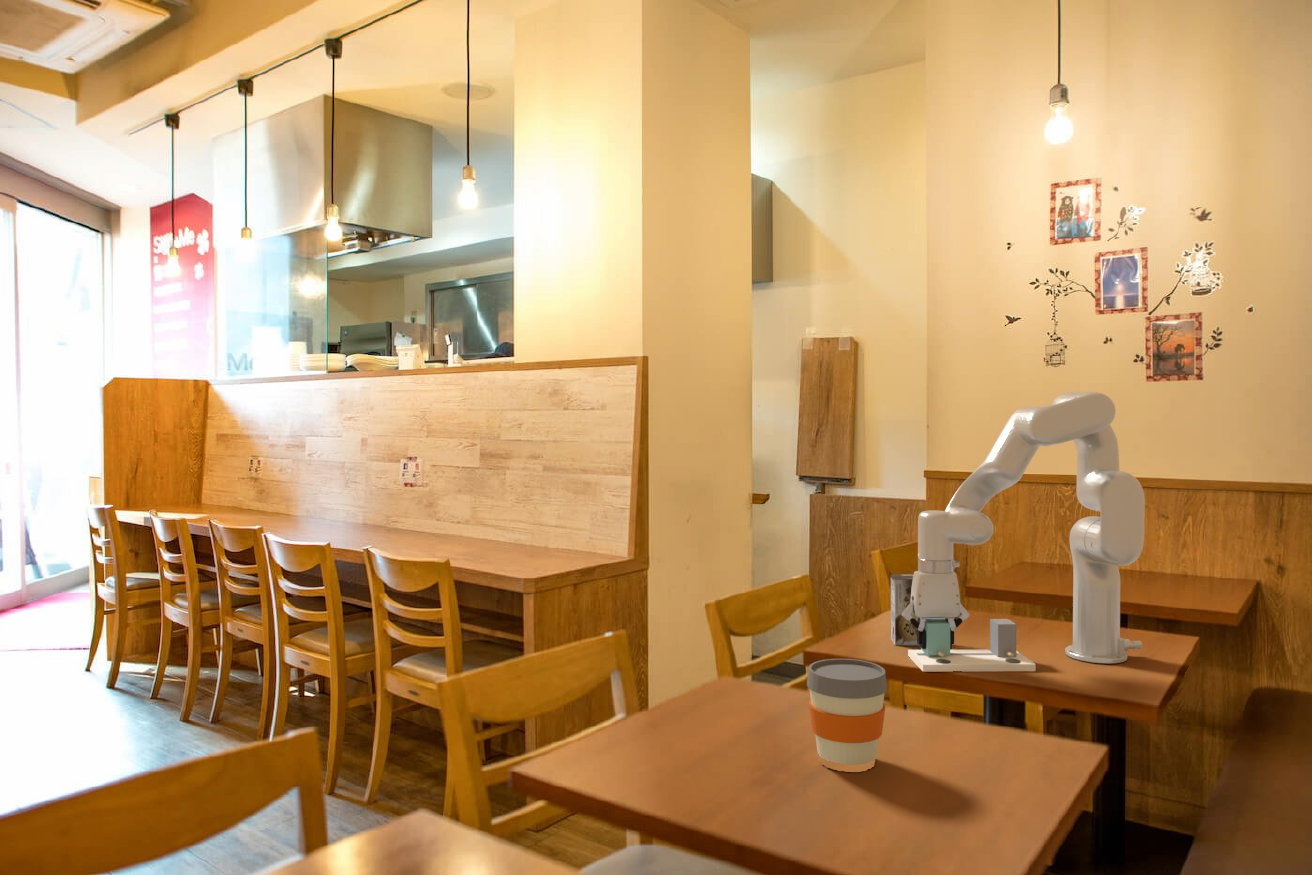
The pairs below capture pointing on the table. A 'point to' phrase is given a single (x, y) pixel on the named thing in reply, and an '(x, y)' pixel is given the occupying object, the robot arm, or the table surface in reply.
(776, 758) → the table surface
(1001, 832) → the table surface
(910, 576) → the coffee box
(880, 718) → the reusable coffee cup
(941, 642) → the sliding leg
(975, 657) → the board
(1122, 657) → the robot arm
